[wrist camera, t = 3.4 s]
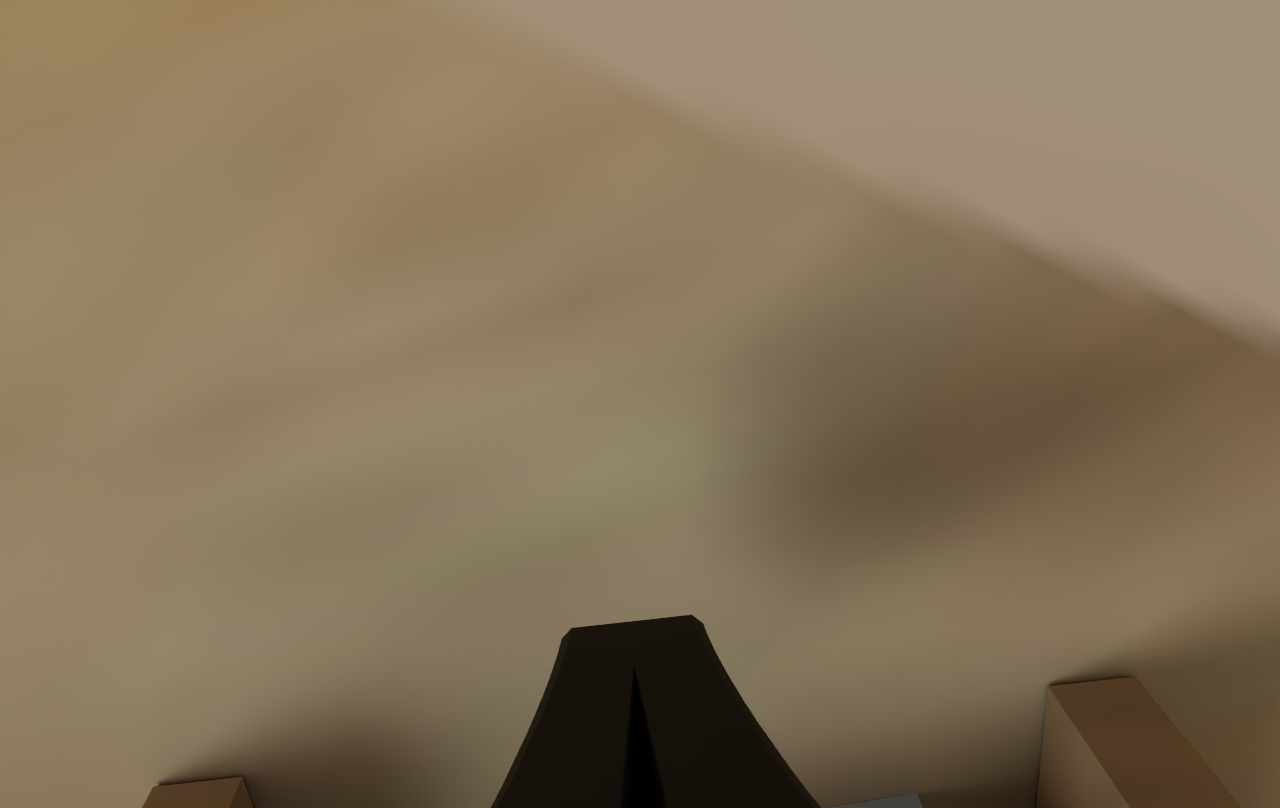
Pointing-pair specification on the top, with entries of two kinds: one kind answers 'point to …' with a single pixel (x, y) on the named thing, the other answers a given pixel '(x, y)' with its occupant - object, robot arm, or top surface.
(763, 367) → the top surface
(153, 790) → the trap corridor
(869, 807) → the slate block
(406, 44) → the top surface
